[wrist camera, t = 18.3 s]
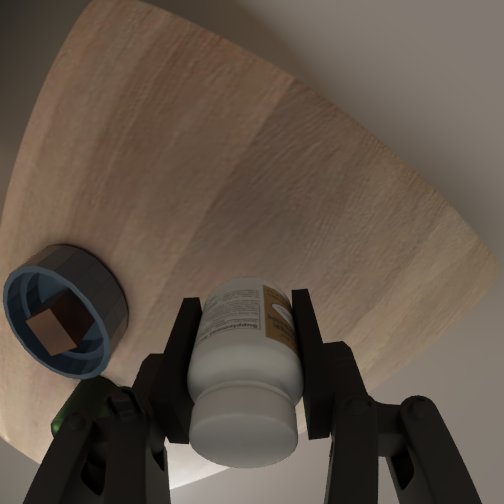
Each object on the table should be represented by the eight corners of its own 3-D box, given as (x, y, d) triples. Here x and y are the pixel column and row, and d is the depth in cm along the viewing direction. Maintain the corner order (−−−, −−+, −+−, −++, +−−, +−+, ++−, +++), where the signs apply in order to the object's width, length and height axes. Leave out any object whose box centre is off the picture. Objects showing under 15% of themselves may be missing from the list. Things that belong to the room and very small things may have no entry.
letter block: (46, 298, 32) (25, 321, 27) (71, 285, 31) (49, 308, 26) (69, 331, 33) (51, 356, 29) (95, 321, 32) (77, 347, 28)
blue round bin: (17, 248, 30) (-13, 268, 24) (111, 237, 29) (84, 261, 24) (53, 344, 35) (33, 372, 30) (143, 349, 35) (127, 384, 29)
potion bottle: (71, 363, 36) (14, 462, 20) (123, 376, 36) (76, 490, 20) (84, 401, 39) (41, 493, 23) (132, 413, 40) (98, 515, 23)
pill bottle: (299, 337, 16) (321, 464, 9) (219, 353, 17) (203, 478, 9) (281, 264, 15) (303, 390, 7) (192, 285, 15) (148, 410, 8)
